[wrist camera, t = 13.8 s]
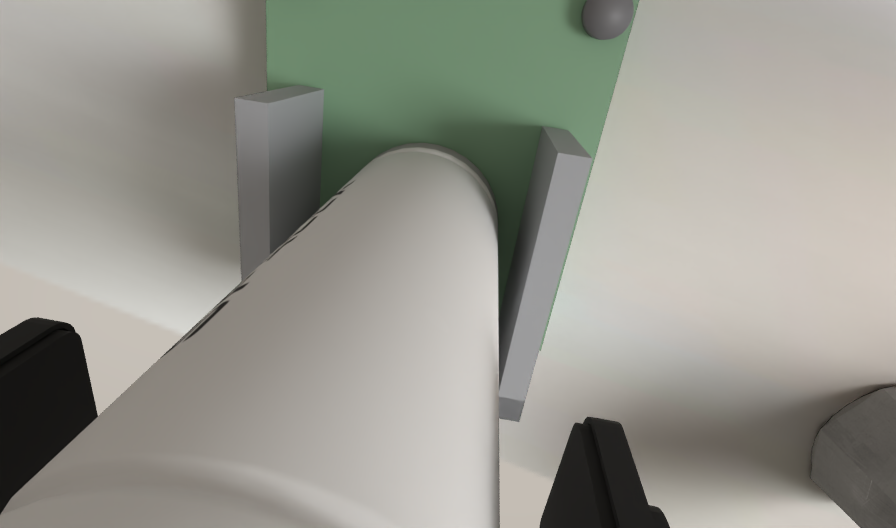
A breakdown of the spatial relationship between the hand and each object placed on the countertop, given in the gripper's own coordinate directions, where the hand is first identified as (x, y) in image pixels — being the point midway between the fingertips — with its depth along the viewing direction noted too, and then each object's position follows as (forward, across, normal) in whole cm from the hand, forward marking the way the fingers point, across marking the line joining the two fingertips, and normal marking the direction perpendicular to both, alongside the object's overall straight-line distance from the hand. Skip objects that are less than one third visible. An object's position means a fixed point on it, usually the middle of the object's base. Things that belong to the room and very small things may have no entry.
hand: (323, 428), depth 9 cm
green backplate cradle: (+15, 0, -2) cm, 15 cm away
